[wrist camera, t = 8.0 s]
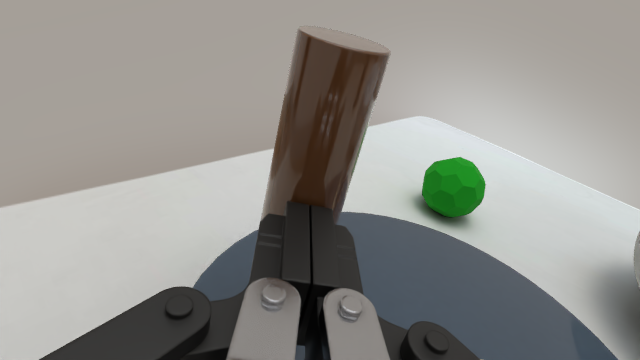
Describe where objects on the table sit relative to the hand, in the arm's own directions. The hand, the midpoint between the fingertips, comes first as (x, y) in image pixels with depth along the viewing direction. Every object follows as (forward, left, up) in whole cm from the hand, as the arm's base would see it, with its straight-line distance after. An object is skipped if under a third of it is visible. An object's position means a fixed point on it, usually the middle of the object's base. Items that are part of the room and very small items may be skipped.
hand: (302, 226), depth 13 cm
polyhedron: (+19, +9, -8) cm, 23 cm away
